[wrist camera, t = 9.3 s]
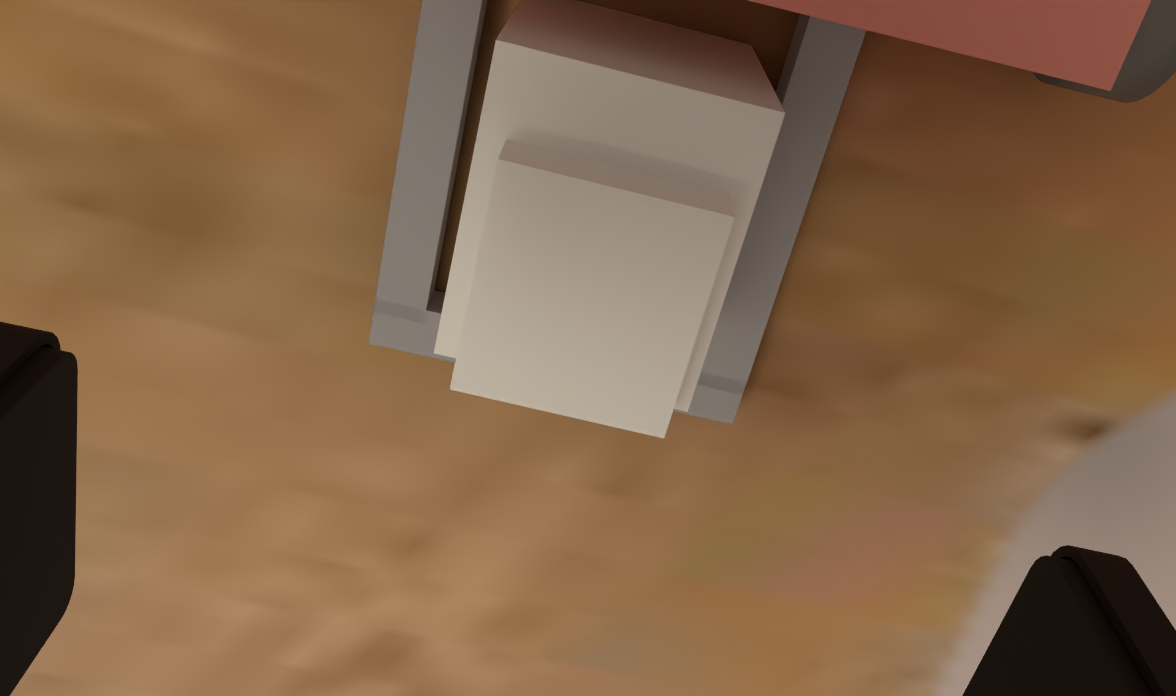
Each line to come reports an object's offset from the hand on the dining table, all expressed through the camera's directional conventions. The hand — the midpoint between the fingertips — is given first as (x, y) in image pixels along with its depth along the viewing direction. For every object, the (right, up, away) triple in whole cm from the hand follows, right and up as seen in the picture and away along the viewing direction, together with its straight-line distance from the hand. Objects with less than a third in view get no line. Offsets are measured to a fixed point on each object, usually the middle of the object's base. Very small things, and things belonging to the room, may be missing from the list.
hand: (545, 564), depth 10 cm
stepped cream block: (+1, +7, +14) cm, 16 cm away
